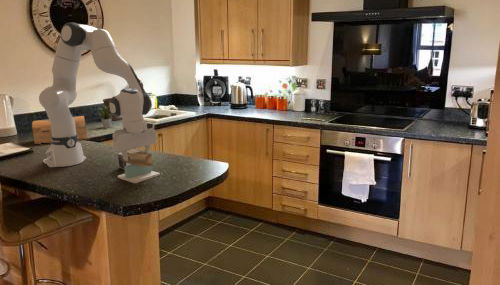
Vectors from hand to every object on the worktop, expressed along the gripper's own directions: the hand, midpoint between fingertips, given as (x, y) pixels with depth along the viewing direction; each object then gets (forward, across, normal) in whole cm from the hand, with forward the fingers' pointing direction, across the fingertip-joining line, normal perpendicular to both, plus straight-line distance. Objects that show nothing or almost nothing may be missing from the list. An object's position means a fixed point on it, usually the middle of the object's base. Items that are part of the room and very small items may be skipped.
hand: (137, 157), depth 183 cm
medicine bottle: (+9, +6, +16) cm, 19 cm away
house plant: (+9, +55, +117) cm, 130 cm away
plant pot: (+9, +78, +142) cm, 162 cm away
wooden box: (+9, +18, +108) cm, 110 cm away
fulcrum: (+9, 0, 0) cm, 9 cm away
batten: (+3, 0, 0) cm, 3 cm away
